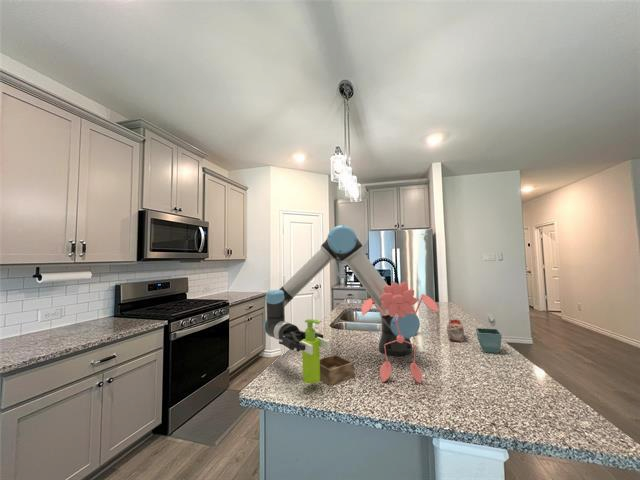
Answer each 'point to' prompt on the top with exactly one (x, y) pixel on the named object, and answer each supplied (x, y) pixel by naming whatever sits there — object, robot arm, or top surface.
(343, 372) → the walnut caddy
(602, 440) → the top surface
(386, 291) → the figurine
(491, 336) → the flower pot
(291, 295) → the robot arm
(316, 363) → the soap dispenser
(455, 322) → the food item
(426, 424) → the top surface
